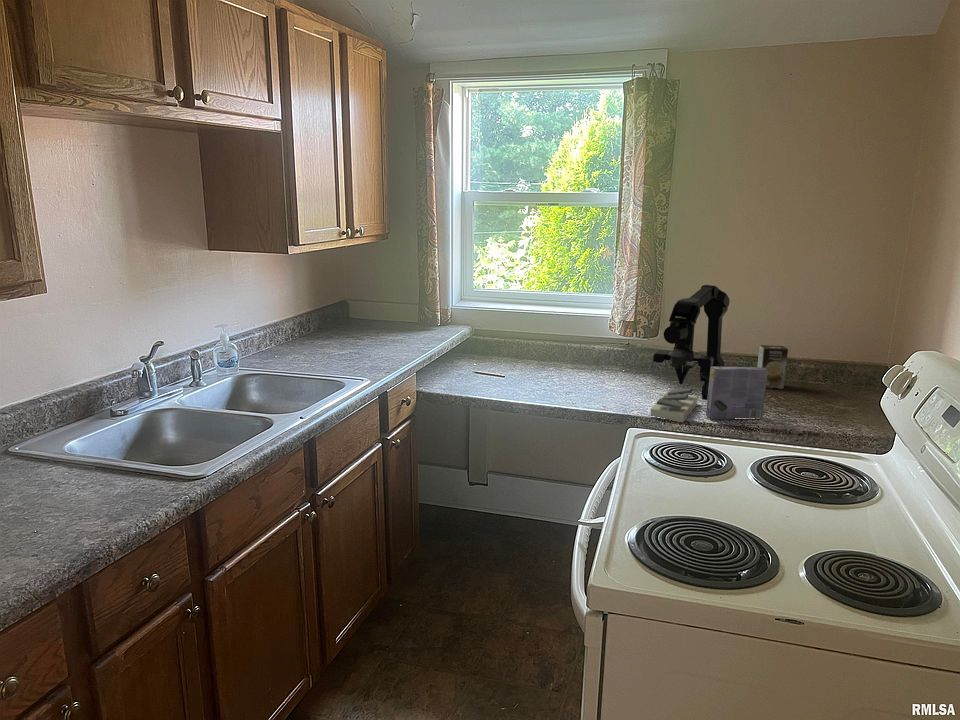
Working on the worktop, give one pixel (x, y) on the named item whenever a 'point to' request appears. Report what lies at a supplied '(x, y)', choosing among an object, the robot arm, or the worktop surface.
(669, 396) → the block
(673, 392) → the block
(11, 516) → the worktop surface
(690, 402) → the switch panel
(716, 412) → the cake pan box
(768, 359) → the coffee box
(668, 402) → the plate
